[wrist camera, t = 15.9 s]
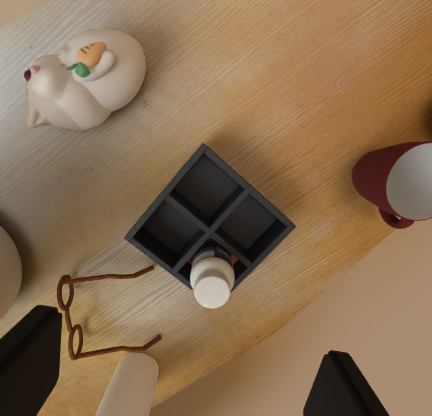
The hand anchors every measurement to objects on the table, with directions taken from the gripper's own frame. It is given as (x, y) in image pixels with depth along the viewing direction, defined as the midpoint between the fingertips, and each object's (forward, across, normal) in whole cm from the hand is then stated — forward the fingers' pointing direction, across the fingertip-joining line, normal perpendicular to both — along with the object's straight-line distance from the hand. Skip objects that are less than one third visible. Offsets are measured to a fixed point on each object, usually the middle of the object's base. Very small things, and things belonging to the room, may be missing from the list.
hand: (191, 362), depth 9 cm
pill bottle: (+27, -3, +8) cm, 28 cm away
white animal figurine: (+28, +16, -11) cm, 34 cm away
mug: (+28, -22, -7) cm, 36 cm away
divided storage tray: (+27, -1, +3) cm, 28 cm away
